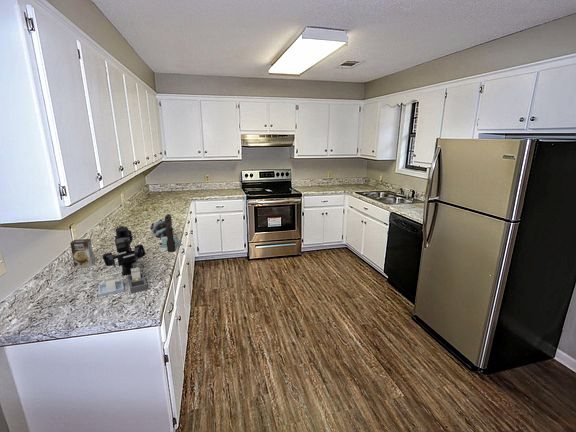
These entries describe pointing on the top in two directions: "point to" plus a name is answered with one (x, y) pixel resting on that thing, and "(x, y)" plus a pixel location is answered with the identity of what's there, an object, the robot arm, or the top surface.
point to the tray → (103, 291)
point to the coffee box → (82, 253)
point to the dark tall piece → (169, 236)
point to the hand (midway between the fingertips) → (125, 263)
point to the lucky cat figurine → (159, 228)
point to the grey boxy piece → (137, 281)
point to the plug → (110, 283)
